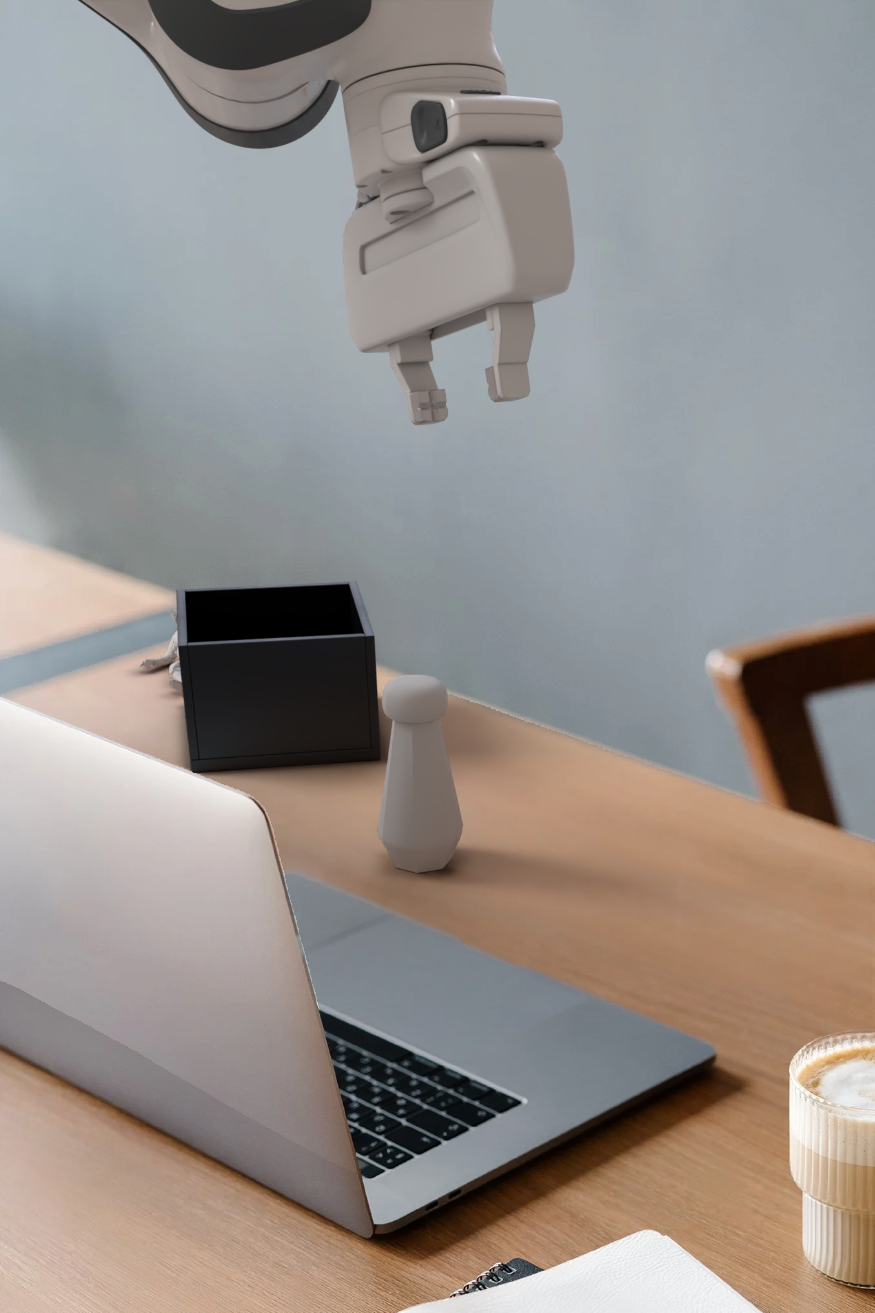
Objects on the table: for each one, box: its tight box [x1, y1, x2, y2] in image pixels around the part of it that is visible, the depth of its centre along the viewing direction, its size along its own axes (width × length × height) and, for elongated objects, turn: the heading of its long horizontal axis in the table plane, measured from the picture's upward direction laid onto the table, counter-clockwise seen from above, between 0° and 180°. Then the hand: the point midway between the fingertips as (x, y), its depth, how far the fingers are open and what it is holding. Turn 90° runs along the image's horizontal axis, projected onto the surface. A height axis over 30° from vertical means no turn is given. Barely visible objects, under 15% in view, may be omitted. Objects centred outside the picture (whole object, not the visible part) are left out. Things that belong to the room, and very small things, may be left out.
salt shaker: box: [376, 674, 464, 874], centre depth 121 cm, size 6×6×13 cm
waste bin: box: [175, 580, 382, 773], centre depth 142 cm, size 14×14×10 cm
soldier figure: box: [138, 608, 183, 692], centre depth 156 cm, size 8×5×12 cm
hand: (468, 412), depth 100 cm, fingers open, 8 cm apart
